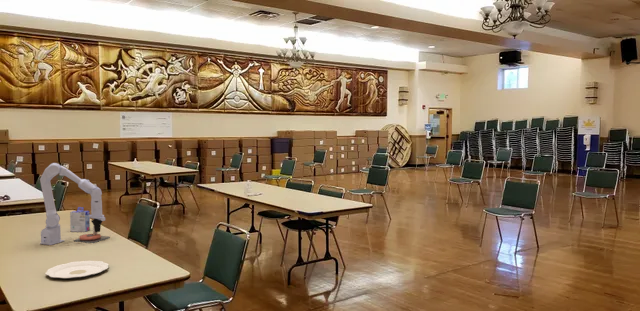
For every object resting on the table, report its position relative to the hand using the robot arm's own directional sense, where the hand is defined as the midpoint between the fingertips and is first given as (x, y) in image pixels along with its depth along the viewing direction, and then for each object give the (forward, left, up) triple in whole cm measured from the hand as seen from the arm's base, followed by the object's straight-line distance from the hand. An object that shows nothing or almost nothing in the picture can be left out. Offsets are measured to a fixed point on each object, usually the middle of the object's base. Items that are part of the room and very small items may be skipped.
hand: (97, 231), depth 276 cm
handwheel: (-4, +2, -3) cm, 5 cm away
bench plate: (-3, +1, -4) cm, 5 cm away
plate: (-54, -37, -5) cm, 66 cm away
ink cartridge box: (+13, +25, -4) cm, 28 cm away
